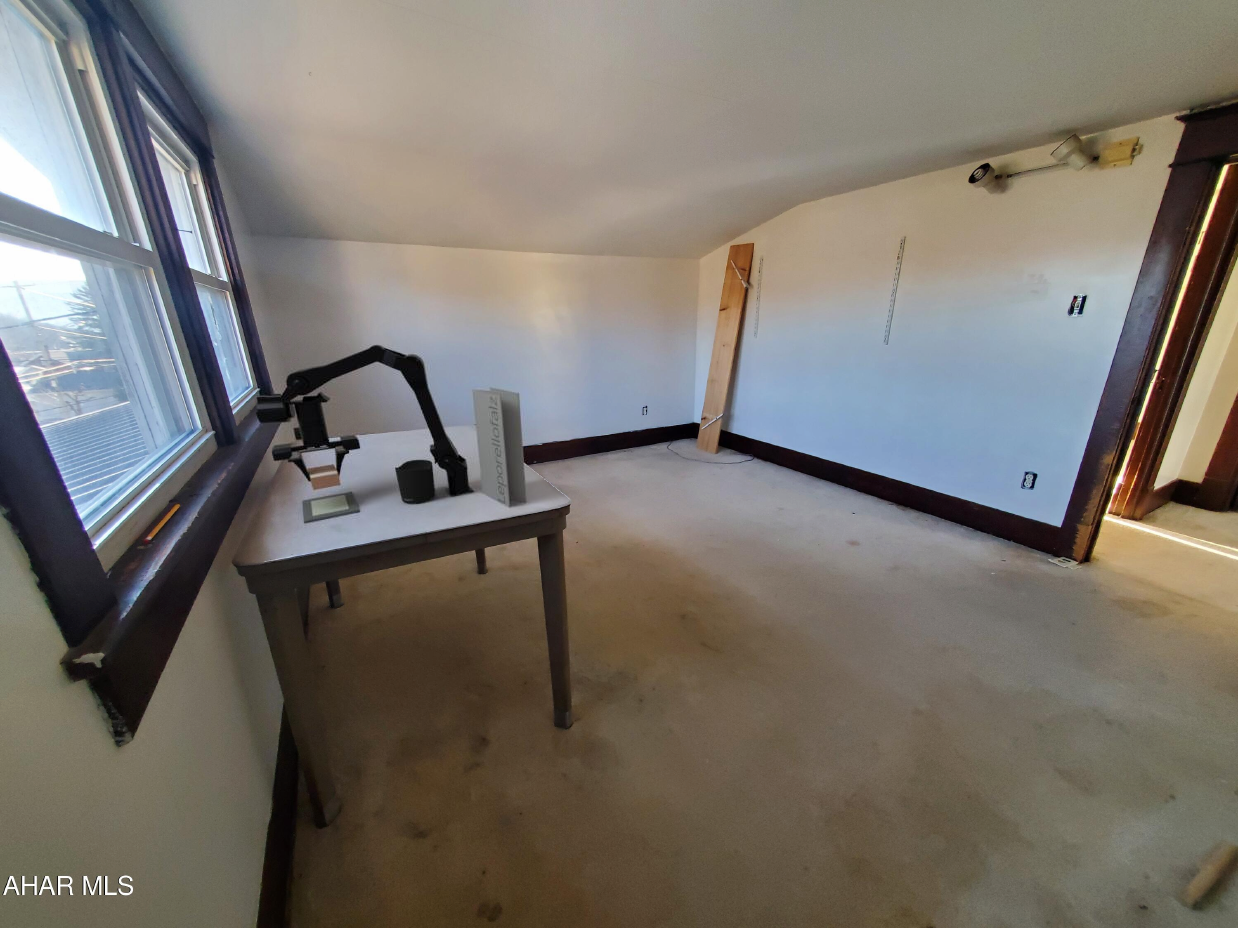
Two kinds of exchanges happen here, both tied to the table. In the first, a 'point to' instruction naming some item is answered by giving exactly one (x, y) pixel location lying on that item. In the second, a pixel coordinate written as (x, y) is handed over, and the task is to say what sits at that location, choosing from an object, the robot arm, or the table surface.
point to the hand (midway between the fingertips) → (324, 478)
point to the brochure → (500, 444)
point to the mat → (329, 507)
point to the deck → (324, 477)
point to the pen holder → (416, 481)
